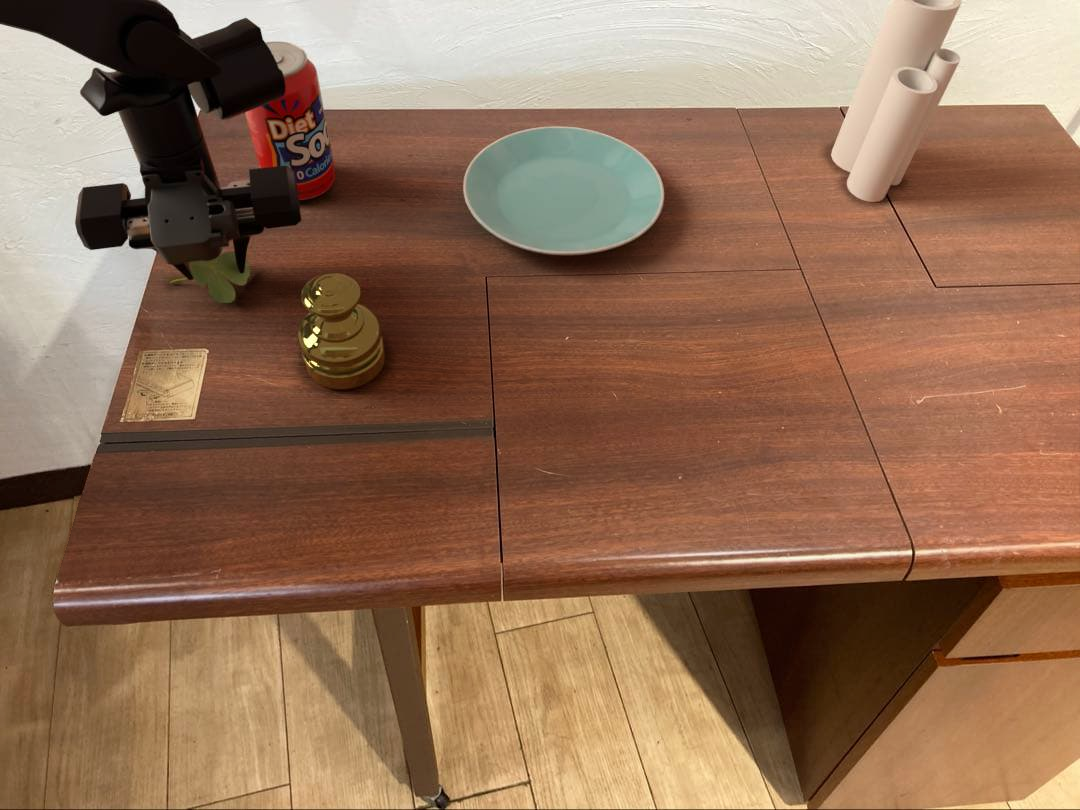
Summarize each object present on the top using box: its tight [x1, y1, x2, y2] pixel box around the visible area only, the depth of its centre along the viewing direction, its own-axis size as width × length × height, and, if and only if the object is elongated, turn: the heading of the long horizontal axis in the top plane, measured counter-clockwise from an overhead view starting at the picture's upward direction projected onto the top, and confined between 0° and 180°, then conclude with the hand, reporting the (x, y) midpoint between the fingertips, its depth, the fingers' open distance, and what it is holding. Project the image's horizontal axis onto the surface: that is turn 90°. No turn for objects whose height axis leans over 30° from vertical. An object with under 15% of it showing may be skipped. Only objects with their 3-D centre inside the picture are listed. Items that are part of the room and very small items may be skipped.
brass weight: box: [296, 272, 386, 390], centre depth 72 cm, size 7×7×10 cm
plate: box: [462, 125, 665, 256], centre depth 90 cm, size 22×22×3 cm
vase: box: [830, 0, 963, 203], centre depth 90 cm, size 11×7×20 cm, turn 8°
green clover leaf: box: [169, 247, 251, 304], centre depth 79 cm, size 7×8×7 cm
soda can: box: [244, 41, 336, 201], centre depth 85 cm, size 8×8×15 cm
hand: (216, 273), depth 80 cm, fingers closed on green clover leaf, 4 cm apart
